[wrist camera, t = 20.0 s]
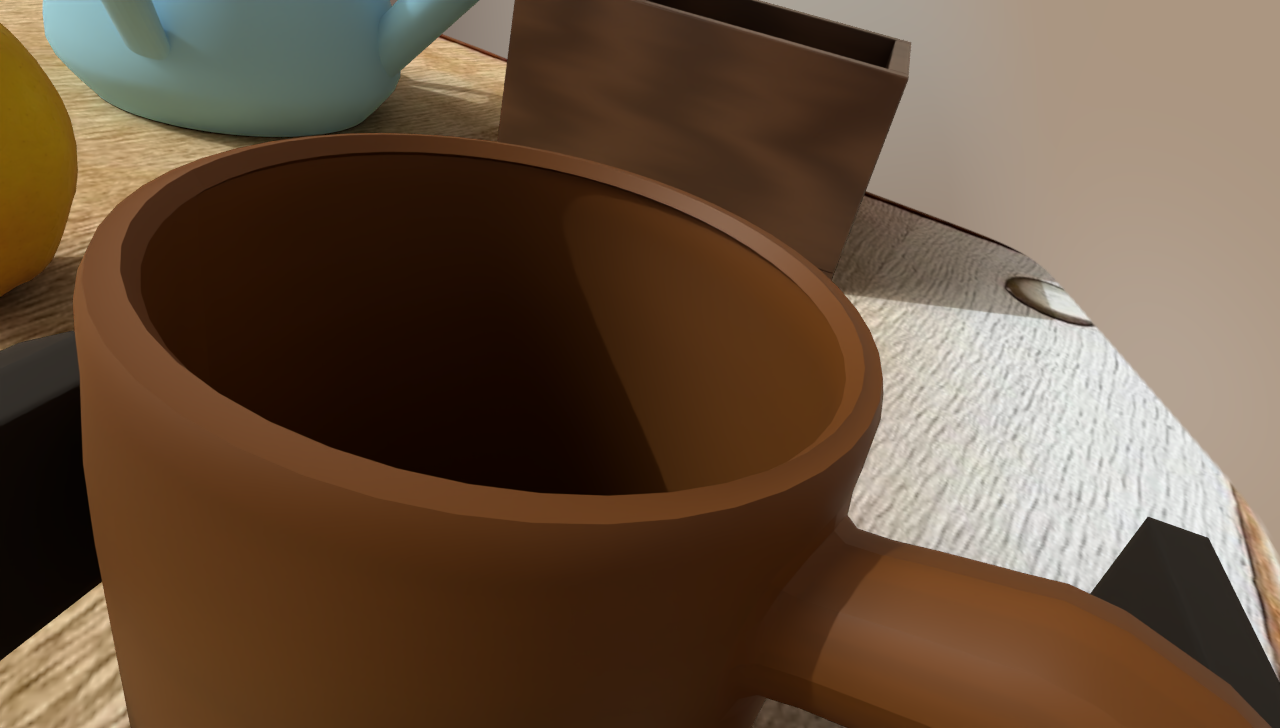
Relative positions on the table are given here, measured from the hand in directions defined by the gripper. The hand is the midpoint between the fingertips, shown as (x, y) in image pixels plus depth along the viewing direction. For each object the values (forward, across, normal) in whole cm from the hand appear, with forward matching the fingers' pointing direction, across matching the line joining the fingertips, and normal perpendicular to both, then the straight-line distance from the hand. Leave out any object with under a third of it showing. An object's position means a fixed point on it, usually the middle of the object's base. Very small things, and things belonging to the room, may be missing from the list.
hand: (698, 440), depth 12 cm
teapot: (+22, -27, -6) cm, 35 cm away
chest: (+28, -6, -6) cm, 29 cm away
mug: (-4, 0, -6) cm, 7 cm away
